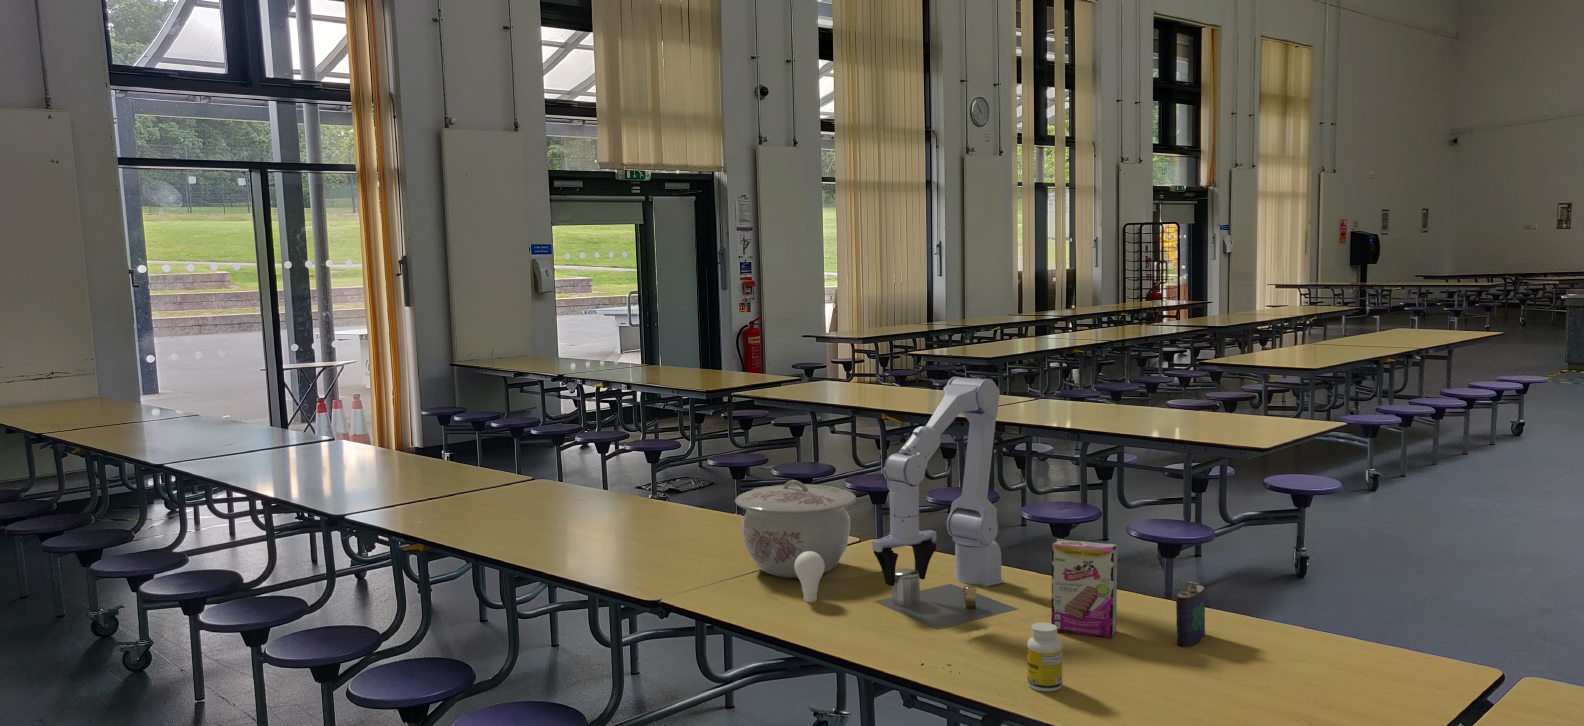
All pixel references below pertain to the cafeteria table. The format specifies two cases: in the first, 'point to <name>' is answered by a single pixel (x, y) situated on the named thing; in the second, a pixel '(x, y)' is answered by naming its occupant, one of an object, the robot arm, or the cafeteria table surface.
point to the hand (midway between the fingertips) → (905, 581)
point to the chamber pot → (795, 525)
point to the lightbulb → (809, 573)
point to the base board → (947, 607)
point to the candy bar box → (1084, 587)
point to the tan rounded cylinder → (969, 597)
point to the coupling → (906, 587)
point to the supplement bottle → (1044, 658)
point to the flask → (1190, 615)
